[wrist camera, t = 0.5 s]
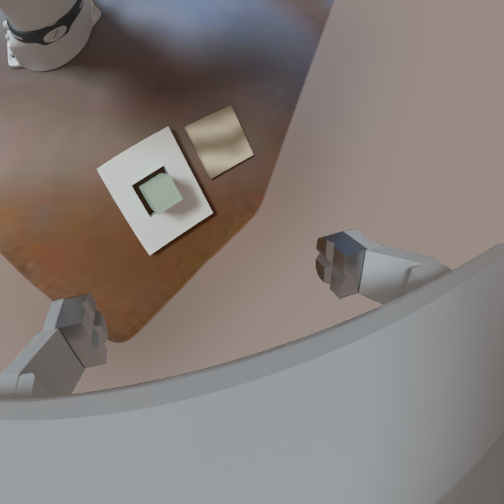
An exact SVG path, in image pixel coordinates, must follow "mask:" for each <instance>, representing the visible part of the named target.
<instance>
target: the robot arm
mask: <svg viewBox="0 0 504 504" xmlns="http://www.w3.org/2000/svg"><path fill="white" fill-rule="evenodd" d="M0 9H1V10H2V12H3V13H4V14H5V16H6V17H7V20H5V21H4V22H3V27H4V30H5V31H7V34H6V41H7V49H8V64H9V66H10V67H11V68H21V67H25V68H28V69H30V70H33V71H48V70H52V69H55V68H58V67H60V66H62V65H64V64H66V63H67V62H69V61H70V60H71V59H73V58H74V57H75V56H76V55H77V54H78V53H79V52H80V51H81V50H82V49H83V47H84V46H85V44H86V43H87V41H88V39H89V36H90V33H91V30H92V28H93V26H94V25H95V24H96V23H97V22H98V20H99V19H100V17H101V11H100V10H99V9H98V8H97V7H96V5H95V4H94V3H93V1H92V0H0ZM93 11H94V12H93ZM13 56H14V58H13ZM316 249H317V250H318V251H319V255H318V257H317V258H316V270H317V273H318V275H319V277H320V279H321V280H322V281H323V282H325V283H328V284H330V289H331V290H332V291H333V292H334V294H335V295H336V296H337V297H338V298H339V299H341V298H344V297H347V296H350V295H353V294H356V293H359V294H361V295H363V296H365V297H367V298H370V299H372V300H374V301H376V302H379V303H381V304H383V305H382V306H380V307H378V308H375V309H373V310H371V311H369V312H366V313H364V314H362V315H359V316H357V317H355V318H352V319H350V320H347V321H345V322H342V323H340V324H337V325H335V326H332V327H330V328H327V329H325V330H322V331H319V332H317V333H314V334H311V335H309V336H306V337H303V338H301V339H298V340H295V341H292V342H289V343H287V344H283V345H280V346H277V347H275V348H272V349H268V350H265V351H262V352H259V353H256V354H253V355H250V356H247V357H243V358H240V359H237V360H233V361H230V362H226V363H223V364H219V365H216V366H212V367H208V368H204V369H201V370H197V371H193V372H189V373H185V374H180V375H177V376H172V377H168V378H163V379H159V380H154V381H150V382H144V383H139V384H134V385H129V386H123V387H118V388H112V389H106V390H100V391H93V392H86V393H79V394H72V392H73V390H74V388H75V386H76V384H77V383H78V381H79V379H80V377H81V375H82V374H83V372H84V370H85V369H84V368H88V367H93V366H97V365H102V364H106V354H107V349H106V347H105V345H104V343H105V342H106V340H107V328H106V323H105V320H104V318H103V316H102V314H101V313H100V312H99V311H97V310H96V301H95V299H94V297H93V295H92V294H91V293H87V294H83V295H78V296H74V297H69V298H64V299H60V300H56V301H53V302H52V303H51V306H50V309H49V312H48V315H47V318H46V321H45V324H44V328H43V331H42V332H39V333H38V334H37V335H36V336H35V337H34V338H33V339H32V340H31V341H30V342H29V343H28V344H27V346H26V347H25V348H24V349H23V350H22V351H21V352H20V353H19V354H18V356H17V357H16V358H15V359H14V360H13V361H12V362H11V363H10V364H9V366H8V367H7V368H6V369H5V370H4V371H3V373H2V374H1V375H0V504H504V244H503V243H502V244H501V243H500V244H497V245H495V246H493V247H492V248H490V249H489V250H487V251H485V252H484V253H482V254H480V255H479V256H477V257H475V258H474V259H472V260H470V261H468V262H467V263H465V264H463V265H461V266H460V267H458V268H456V269H454V270H451V269H450V268H448V267H447V266H446V265H444V264H443V263H441V262H440V261H438V260H437V259H435V258H433V257H429V256H424V255H421V254H417V253H413V252H409V251H405V250H400V249H396V248H392V247H388V246H384V245H381V246H378V245H377V244H376V243H374V242H373V241H371V240H370V239H368V238H367V237H365V236H364V235H362V234H361V233H359V232H358V231H356V230H355V229H349V230H346V231H342V232H339V233H335V234H332V235H329V236H325V237H321V238H318V241H317V248H316Z"/></svg>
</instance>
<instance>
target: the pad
mask: <svg viewBox="0 0 504 504" xmlns="http://www.w3.org/2000/svg"><path fill="white" fill-rule="evenodd" d="M184 128H185V130H186V132H187V134H188V136H189V138H190V140H191V142H192V144H193V146H194V148H195V150H196V152H197V154H198V156H199V158H200V160H201V162H202V164H203V166H204V168H205V170H206V172H207V174H208V176H209V178H210V179H212V178H214V177H215V176H217V175H219V174H221V173H222V172H224V171H226V170H228V169H229V168H231V167H233V166H235V165H236V164H238V163H240V162H242V161H243V160H245V159H247V158H249V157H251V156H253V155H254V154H253V152H252V150H251V147H250V145H249V143H248V141H247V138H246V136H245V134H244V132H243V130H242V127H241V125H240V123H239V121H238V119H237V116H236V114H235V112H234V110H233V108H232V106H231V105H230V106H228V107H226V108H223V109H221V110H219V111H217V112H214V113H212V114H210V115H208V116H206V117H204V118H202V119H200V120H198V121H196V122H194V123H192V124H190V125H188V126H186V127H184Z"/></svg>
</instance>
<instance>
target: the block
mask: <svg viewBox="0 0 504 504" xmlns="http://www.w3.org/2000/svg"><path fill="white" fill-rule="evenodd" d="M138 187H139V189H140V191H141V192H142V194H143V196H144V198H145V199H146V201H147V203H148V204H149V206H150V208H151V209H152V210H154V211H155V212H156V213H157V214H158V215H159V214H161V213H162V212H164V211H166V210H167V209H169V208H170V207H172V206H173V205H175V204H176V203H178V202H180V201H181V200H183V198H182V196H181V195H180V193H179V191H178V189H177V187H176V185H175V184H174V182H173V180H172V178H171V176H170V174H163V173H159V174H157V175H156V176H154V177H153V178H151V179H149V180H148V181H146V182H145V183H143V184H141V185H140V186H138Z"/></svg>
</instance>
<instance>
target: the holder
mask: <svg viewBox="0 0 504 504" xmlns="http://www.w3.org/2000/svg"><path fill="white" fill-rule="evenodd" d="M162 166H163V168H164V170H165V172H166V174H170V176H171V178H172V180H173V182H174V184H175V185H176V187H177V189H178V191H179V193H180V195H181V196H182V198H183V200H181V201H180V202H178V203H176V204H175V205H173V206H172V207H170V208H169V209H167V210H166V211H164V212H162V213H161V214H159V215H158V214H157V213H156V212H153V213H152V214H150V215H149V214H148V213H147V211H146V209H145V208H144V206H143V204H142V202H141V201H140V199H139V197H138V196H137V194H136V192H135V190H134V189H133V187H132V185H133V184H135V183H136V182H138V181H140V180H141V179H143V178H144V177H146V176H148V175H149V174H151V173H153V172H154V171H156V170H157V169H159V168H161V167H162ZM97 171H98V173H99V174H100V176H101V178H102V180H103V181H104V183H105V185H106V187H107V188H108V190H109V192H110V194H111V195H112V197H113V199H114V200H115V202H116V204H117V205H118V207H119V209H120V210H121V212H122V213H123V215H124V217H125V218H126V220H127V222H128V223H129V225H130V226H131V228H132V229H133V231H134V233H135V234H136V236H137V237H138V239H139V240H140V242H141V243H142V245H143V246H144V248H145V250H146V251H147V253H148V254H149V256H150V255H151V254H153V253H154V252H156V251H157V250H159V249H160V248H161V247H163V246H164V245H166V244H167V243H169V242H170V241H172V240H173V239H175V238H176V237H178V236H179V235H181V234H182V233H184V232H185V231H187V230H188V229H190V228H191V227H193V226H194V225H196V224H197V223H199V222H200V221H202V220H203V219H205V218H206V217H208V216H209V215H211V214H213V212H212V210H211V208H210V206H209V204H208V202H207V200H206V198H205V196H204V194H203V193H202V191H201V189H200V187H199V185H198V183H197V181H196V179H195V177H194V175H193V173H192V171H191V169H190V168H189V166H188V164H187V162H186V160H185V158H184V156H183V154H182V152H181V150H180V148H179V146H178V144H177V142H176V140H175V138H174V136H173V134H172V132H171V130H170V128H169V127H166V128H164V129H162V130H160V131H159V132H157V133H155V134H153V135H151V136H150V137H148V138H146V139H144V140H142V141H141V142H139V143H137V144H136V145H134V146H132V147H130V148H129V149H127V150H126V151H124V152H122V153H121V154H119V155H117V156H116V157H114V158H113V159H111V160H110V161H108V162H106V163H105V164H103V165H102V166H100V167H99V168H97Z"/></svg>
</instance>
